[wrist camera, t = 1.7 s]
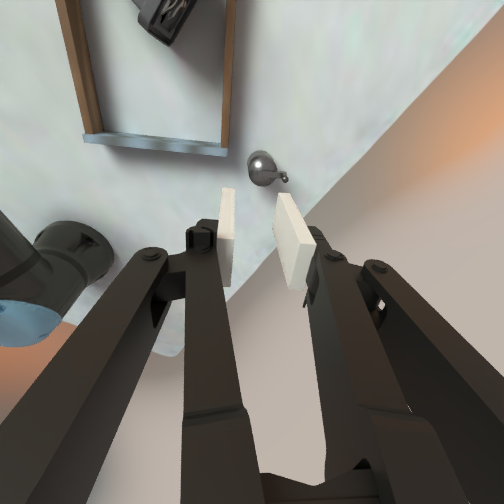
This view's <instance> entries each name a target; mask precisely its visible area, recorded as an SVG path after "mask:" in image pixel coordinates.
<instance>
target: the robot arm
mask: <svg viewBox="0 0 504 504" xmlns="http://www.w3.org/2000/svg"><path fill="white" fill-rule="evenodd" d="M272 230H273V234H274V237H275V241H276V245H277V248H278V252H279V256H280V260H281V263H282V267H283V270H284V274H285V278H286V282H287V286H288V289H289V290H303V289H304V286H305V283H307V286H308V290H307V293H306V296H305V300H304V303H303V308H305V305H306V304H307V307H308V315H309V322H310V329H311V337H312V344H313V351H314V359H315V366H316V374H317V381H318V389H319V396H320V403H321V411H322V418H323V425H324V433H325V440H326V460H325V482H324V483H321V484H319V485H316V486H311V485H307V484H304V483H301V482H297V481H294V480H291V479H288V478H285V477H281V476H278V475H275V474H271V473H260V472H259V467H258V462H257V456H256V450H255V445H254V439H253V434H252V428H251V424H250V419H249V415H248V412H247V410H246V409H245V408H244V406H243V403H242V398H241V392H240V386H239V380H238V374H237V368H236V362H235V356H234V351H233V344H232V338H231V332H230V326H229V320H228V314H227V308H226V302H225V296H224V290H223V287H230V285H231V273H232V261H233V249H234V189H232V188H223V190H222V198H221V206H220V214H219V220H212V219H201V220H200V221H198V222H197V224H196V226H193V227H190V228H189V229H187V230H186V251H185V252H183V253H180V254H175V255H168V253H167V251H166V250H164V249H162V248H158V247H147V248H144V249H141V250H139V251H138V252H136V253H135V254H134V256H133V257H132V258H131V259H130V261H129V262H128V263H127V264H126V266H125V267H124V268H123V270H122V271H121V272H120V273H119V275H118V276H117V277H116V278H115V280H114V281H113V282H112V284H111V285H110V286H109V287H108V289H107V290H106V291H105V292H104V294H103V295H102V296H101V298H100V299H99V300H98V301H97V303H96V304H95V305H94V306H93V308H92V309H91V310H90V312H89V313H88V314H87V315H86V317H85V318H84V319H83V320H82V322H81V323H80V324H79V325H78V327H77V328H76V329H75V331H74V332H73V333H72V334H71V336H70V337H69V338H68V339H67V341H66V342H65V343H64V345H63V346H62V347H61V348H60V350H59V351H58V352H57V354H56V355H55V356H54V357H53V359H52V360H51V361H50V362H49V364H48V365H47V366H46V368H45V369H44V370H43V371H42V373H41V374H40V375H39V377H38V378H37V379H36V380H35V381H34V383H33V384H32V385H31V387H30V388H29V389H28V390H27V392H26V393H25V395H24V396H23V397H22V398H21V399H20V401H19V402H18V403H17V405H16V406H15V407H14V408H13V409H12V411H11V412H10V413H9V415H8V416H7V417H6V418H5V420H4V421H3V422H2V423H1V425H0V504H86V502H87V500H88V497H89V495H90V493H91V490H92V488H93V486H94V483H95V481H96V479H97V476H98V474H99V472H100V469H101V467H102V465H103V462H104V460H105V457H106V455H107V453H108V450H109V448H110V446H111V444H112V441H113V439H114V437H115V434H116V432H117V429H118V427H119V425H120V422H121V420H122V418H123V415H124V413H125V411H126V408H127V406H128V404H129V402H130V399H131V397H132V395H133V392H134V390H135V387H136V385H137V383H138V380H139V378H140V376H141V373H142V371H143V369H144V366H145V364H146V362H147V359H148V357H149V355H150V352H151V350H152V348H153V345H154V343H155V341H156V338H157V336H158V334H159V331H160V329H161V327H162V324H163V322H164V320H165V317H166V315H167V313H168V310H169V308H170V306H171V303H172V300H177V299H182V298H185V354H184V355H185V356H184V412H183V413H184V414H183V422H182V451H181V453H182V454H181V501H180V504H469V503H470V504H504V377H503V376H502V375H501V374H500V373H499V372H498V371H497V370H496V369H495V368H494V367H493V366H492V365H491V364H490V363H489V362H488V361H487V360H486V359H485V358H484V357H483V356H482V355H481V354H480V353H478V351H476V350H475V348H474V347H472V346H471V345H470V344H469V343H468V342H467V341H466V340H465V339H464V338H463V337H462V336H461V335H460V334H459V333H458V332H457V331H456V330H455V329H454V328H453V327H452V326H451V325H450V324H449V323H448V322H447V321H446V320H445V319H444V318H443V317H442V316H441V315H440V314H439V313H438V312H437V311H436V310H435V309H434V308H433V307H432V306H431V305H430V304H428V302H427V301H426V300H425V299H424V298H423V297H422V296H421V295H420V294H419V293H418V292H417V291H416V290H415V289H414V288H412V287H411V286H410V285H409V284H408V283H407V282H406V281H405V280H404V279H403V278H402V277H401V276H400V275H399V274H398V273H397V272H396V271H395V270H394V269H393V268H392V267H391V266H390V265H388V264H386V263H384V262H383V261H380V260H373V259H371V260H367V261H365V263H364V265H363V267H362V266H358V265H353V264H350V263H348V261H347V259H346V257H345V256H344V255H343V254H342V253H340V252H338V251H336V250H332V248H331V247H330V245H329V243H328V242H327V240H326V238H325V237H324V236H323V233H322V232H321V231H320V230H319V229H318V228H316V227H315V226H306V224H305V222H304V220H303V218H302V216H301V214H300V212H299V210H298V208H297V207H296V205H295V203H294V201H293V199H292V197H291V195H290V193H278V198H277V204H276V210H275V216H274V222H273V227H272ZM113 260H114V255H113V251H112V248H111V246H110V244H109V243H108V241H107V240H106V239H105V238H104V237H103V236H102V235H101V234H100V233H99V232H97V231H96V230H94V229H93V228H91V227H89V226H87V225H84V224H82V223H78V222H73V221H59V222H55V223H52V224H50V225H49V226H47V227H46V228H45V229H43V230H42V231H41V232H40V233H39V234H38V235H37V237H36V239H35V241H34V243H33V245H31V243H30V242H29V241H28V240H27V239H26V238H25V237H24V236H23V235H22V233H21V232H20V231H19V230H18V229H17V228H16V227H15V226H14V225H13V224H12V222H11V221H10V220H9V219H8V218H7V217H6V216H5V215H4V214H3V212H2V211H1V210H0V346H4V347H24V346H30V345H34V344H37V343H39V342H41V341H43V340H44V339H45V338H47V337H48V336H49V334H50V333H51V332H52V331H53V330H54V329H55V328H56V326H58V325H59V324H60V323H61V321H62V319H63V317H64V316H65V315H66V313H67V312H68V311H69V309H70V308H71V306H72V305H73V304H74V302H75V301H76V300H77V298H78V297H79V296H80V294H81V293H82V292H83V290H84V289H85V288H86V287H87V286H89V285H90V284H92V283H93V282H95V281H96V280H99V279H100V278H102V277H103V276H104V275H105V274H106V273H107V272H108V271H109V269H110V268H111V266H112V264H113ZM381 300H383V302H384V303H385V307H384V308H383V310H381V309H380V308H379V306H378V305H379V303H380V301H381ZM408 406H409V407H408ZM409 408H410V409H411V411H412V412H411V411H410V409H409ZM468 501H469V502H468Z"/></svg>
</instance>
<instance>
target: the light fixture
mask: <svg viewBox="0 0 504 504" xmlns="http://www.w3.org/2000/svg"><path fill="white" fill-rule="evenodd" d="M132 1H133V2H134V3H135V4H136V5H137V7H138V8H139V9H140V10H141V11H140V13H139V16H138V23H139V24H140V25H141V26H142V27H143V28H144V29H145V30H146V31H147V32H148V33H149V34H150V35H152V36H153V37H155V38H156V39H158V40H159V41H160V42H162V43H163V44H165V45H166V46H170V45H171V44H172V43H173V41H174V40H175V38H176V36H177V35H178V33H179V31H180V29H181V28H182V26H183V24H184V23H185V21H186V19H187V17H188V16H189V14H190V12H191V11H192V9H193V7H194V5H195V4H196V2H197V0H132Z"/></svg>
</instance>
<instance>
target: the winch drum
mask: <svg viewBox="0 0 504 504" xmlns="http://www.w3.org/2000/svg"><path fill="white" fill-rule="evenodd" d="M247 166H248V172H249V177H250V179H251V181H252V182H253V183H254V184H255V185H257V186H267V185H270V184H271V183H272V182H273V181H274V180H275V178H281V179H282V181H283V182H284V183H287V182H288V177H287V176H286V172H282V171H277V168H276V165H275V163H274V161H273V159H272V158H271V156H270V155H269V154H268V153H267V152H265V151H256V152H254V153H252V154H251V155H250V157H249V159H248V162H247Z"/></svg>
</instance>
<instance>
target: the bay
mask: <svg viewBox="0 0 504 504" xmlns="http://www.w3.org/2000/svg"><path fill="white" fill-rule="evenodd" d="M55 3H56V7H57V11H58V16H59V20H60V24H61V29H62V33H63V38H64V42H65V46H66V51H67V55H68V59H69V64H70V68H71V73H72V77H73V81H74V86H75V90H76V94H77V99H78V103H79V108H80V112H81V116H82V121H83V125H84V129H85V134H82V135H83V140H84V143H94V144H104V145H114V146H124V147H134V148H144V149H153V150H163V151H173V152H183V153H193V154H203V155H213V156H223V157H227V154H228V139H229V121H230V103H231V84H232V66H233V47H234V29H235V11H236V0H227V3H226V29H225V54H224V79H223V104H222V130H221V143H212V142H203V141H193V140H184V139H175V138H165V137H156V136H147V135H137V134H128V133H118V132H109V131H104V129H103V124H102V118H101V113H100V108H99V103H98V97H97V92H96V87H95V82H94V76H93V71H92V66H91V61H90V56H89V50H88V45H87V40H86V35H85V29H84V24H83V19H82V14H81V8H80V3H79V0H55Z"/></svg>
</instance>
